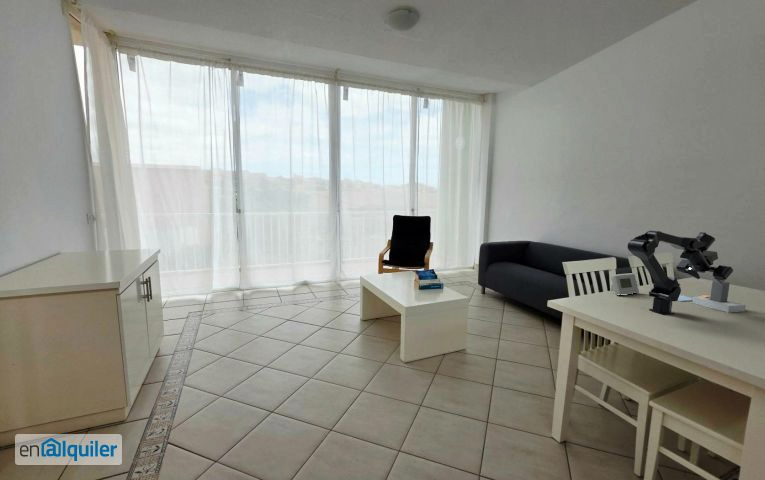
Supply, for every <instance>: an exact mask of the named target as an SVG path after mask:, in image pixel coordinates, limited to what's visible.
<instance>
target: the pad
mask: <svg viewBox="0 0 765 480" xmlns="http://www.w3.org/2000/svg"><path fill="white" fill-rule="evenodd" d="M662 295H664V294H662ZM665 296H667V295H665ZM680 301H681V303H682V301H683V302H693V297H689V296H686V295H683V294H680V295H679V298H678V300H677V301H676V302H680Z"/></svg>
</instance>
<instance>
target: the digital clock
mask: <svg viewBox="0 0 765 480" xmlns="http://www.w3.org/2000/svg"><path fill="white" fill-rule="evenodd" d="M610 279H611V287H610V292H611V291H614V292H615V294H614V295H616V294H620V295H621V294H632V293H637V294H639V293H640V289H639V286H638V282H637V278H636V275H635V273H632V272H631V273H628V272H627V273H618V274H613V275H611V277H610Z"/></svg>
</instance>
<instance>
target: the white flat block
mask: <svg viewBox="0 0 765 480" xmlns="http://www.w3.org/2000/svg"><path fill="white" fill-rule="evenodd" d="M710 297H711V295H706V294H705V295H704V294H703V295H698V296H693V297H692V298H693V301H691V302H692V304H696V305H700V306H703V307H706V308H710V309H714V310H717V311H722V312H724V313H736V312H737V313H738V312H739V313H741V312H745V311H746V306H747V305H746V304H745V303H741V302H736V301H732V300H728V299H727V302H725V303H720V302H716V301H712V300H710Z"/></svg>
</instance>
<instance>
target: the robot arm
mask: <svg viewBox="0 0 765 480" xmlns="http://www.w3.org/2000/svg"><path fill="white" fill-rule="evenodd" d="M715 241H716V238H715V237H714V236H712V235H710V234H707V233H706V232H705V231H704V232H703V231H701V232H699V233H698V234H697V236H696V237H690V236H689V237H687V236H676V235H673V234H669V233H665V232H662V231H660V230H648V231H646V232H645V233H642V234H640V235H638V236H635V237H634V238H632V239H631V240H630V241H629V242H628V243H627V250H628V251H629V252H630V253H631V254H632V255H633V256H635V257H636V258H638V259H640V261H641V263H642V264H643V266H644V268H645V269H646V270H647V272H648V274H649V275H650V276H651V278H652V280H653V285H652V288H651V289H650V290H649V291H648V296H649V297H651V298H653V301H652V308H648V311H652V312H654V313H656V314H660V315H675V313H676V312H674V311H672V308H673V302H678V301H677V300H678V298H679V295H681V293H682V292H681V291H682V288H681V284H680V283H679V281H678V279H677V278H676V277H670V276H668V275H667V273H666V272H665V270H664V268H663V266H662V265H661V264H660V262H659V260H658V259H657V258H656V256H655V252H656V249H657V248H658V247H659V244H660V243H662V244H663V243H664V244H667V245H671V247H672V248H674V249H676V250H681V251H682V250H683V251H682V252H681V254H680V256H679V258H680V259H681V260H680V261H679V262H678V263H677V264H676V267H675V268H676V270H677V271H678V272H681V273H682V274H685V275H688V276H690V277H692V278H694V279H697V280H700V279H701V276H700V274H699V273H701V274H702V273H703V274H704V273H706V272H709V273H712V277H713V278H714V280H715V281H718V282H720V283H721V284H724V282H726V281H725V280H727V279H728V278H729V277H730V276H731V274H733V272H734V269H733V268H732V266H730V265H729V266H728V265H724V264H723V265H722V264H720V265H718V266H717V267H716V266H714V261H717V260H718V259H719V255H718V252H717V251H711V250H709V249H710V247H711V246H712V245H713V244H714V243H715ZM663 294H664V295H663ZM665 295H667V296H665Z"/></svg>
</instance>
